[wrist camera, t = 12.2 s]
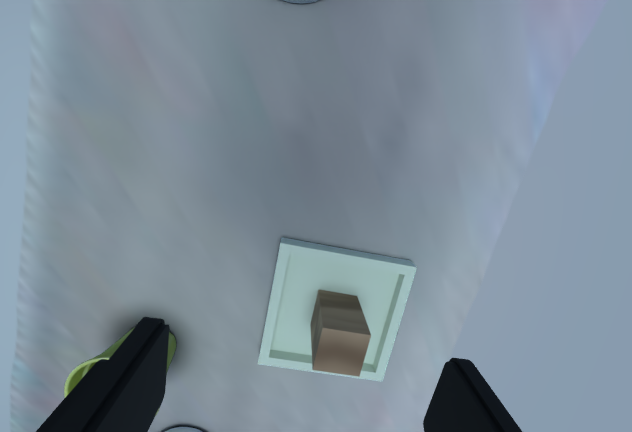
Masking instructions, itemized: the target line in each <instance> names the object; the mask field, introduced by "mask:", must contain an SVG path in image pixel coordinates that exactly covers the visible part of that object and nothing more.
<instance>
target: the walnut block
mask: <svg viewBox="0 0 632 432" xmlns="http://www.w3.org/2000/svg"><path fill="white" fill-rule="evenodd" d="M310 327H311V348H312V369H313V370H316V371H323V372H330V373H337V374H344V375H351V376H358V377H359V376H360V373H361V369H362V366H363V363H364V359H365V356H366V352H367V349H368V345H369V342H370V338H371V333H370V330H369V328H368V325H367V322H366V319H365V316H364V314H363V311H362V308H361V305H360V302H359V300H358V297H357V296H355V295H349V294H343V293H338V292H332V291H326V290H320V289H318V293H317V298H316V302H315V306H314V311H313V315H312V319H311V324H310Z"/></svg>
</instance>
